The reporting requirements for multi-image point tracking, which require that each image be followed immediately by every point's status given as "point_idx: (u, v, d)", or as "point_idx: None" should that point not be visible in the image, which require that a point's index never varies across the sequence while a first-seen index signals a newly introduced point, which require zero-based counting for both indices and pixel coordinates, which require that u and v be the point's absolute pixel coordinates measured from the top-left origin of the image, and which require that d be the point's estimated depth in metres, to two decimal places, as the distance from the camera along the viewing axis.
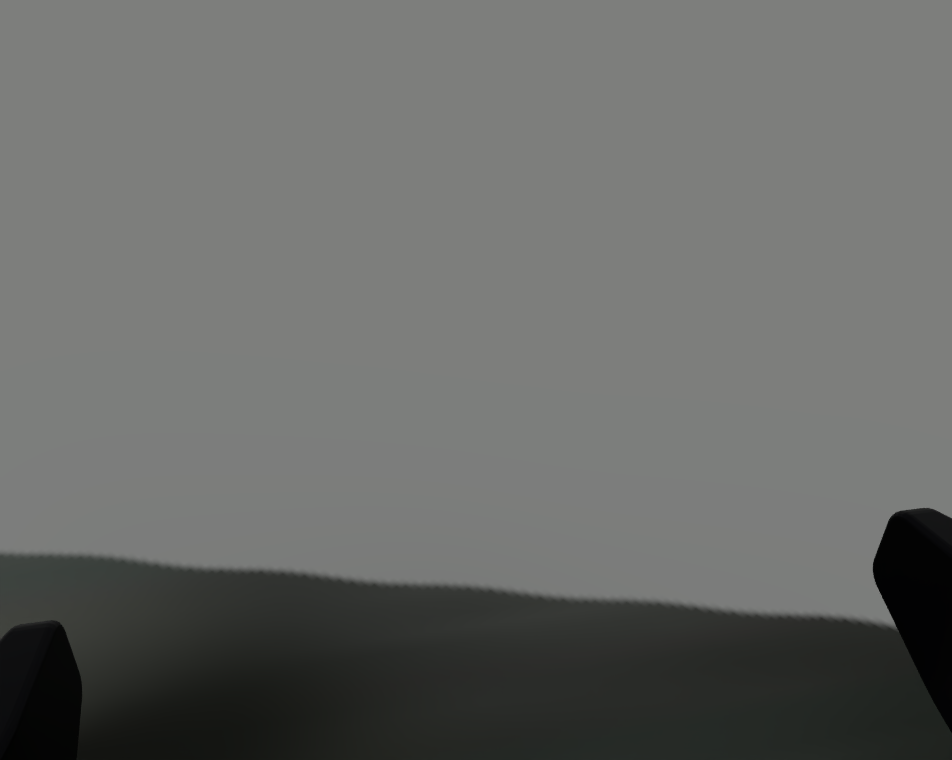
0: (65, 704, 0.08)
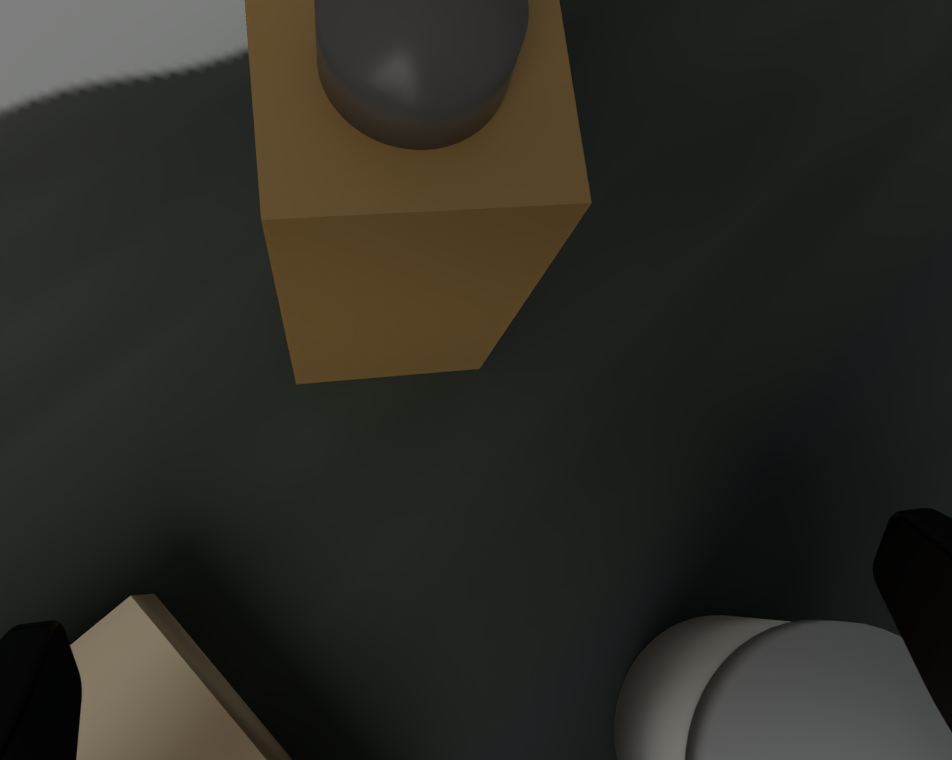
0: (65, 704, 0.08)
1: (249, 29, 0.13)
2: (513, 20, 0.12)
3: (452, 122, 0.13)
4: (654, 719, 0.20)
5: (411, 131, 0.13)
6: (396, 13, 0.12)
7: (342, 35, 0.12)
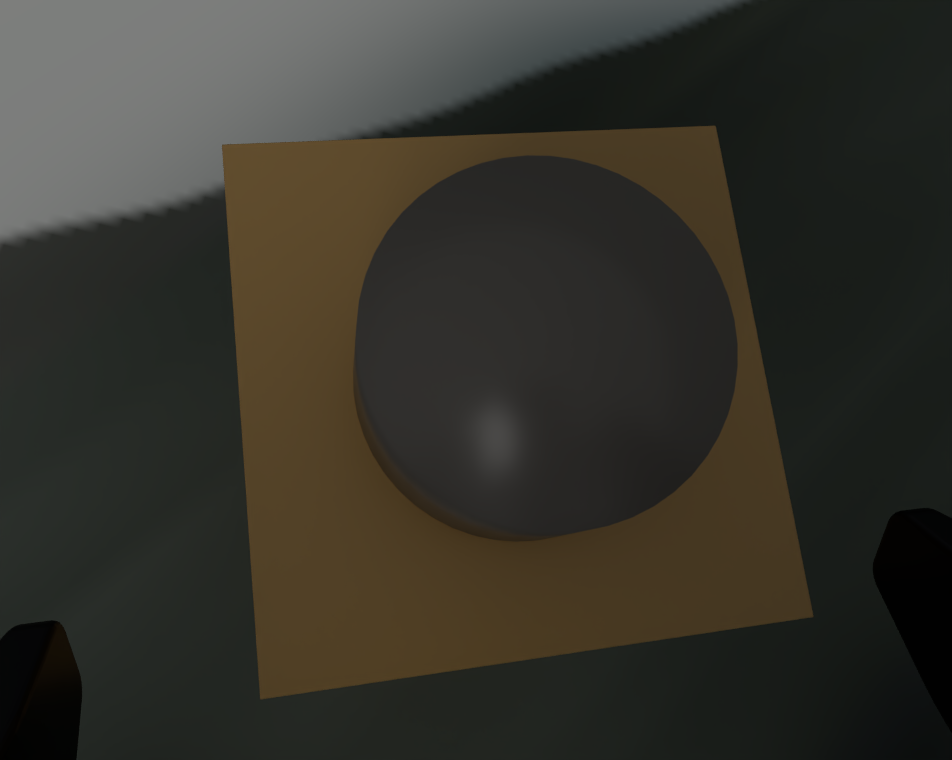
0: (65, 704, 0.08)
1: (239, 336, 0.08)
2: (711, 363, 0.07)
3: None
4: None
5: (522, 537, 0.07)
6: (506, 365, 0.07)
7: (410, 417, 0.06)
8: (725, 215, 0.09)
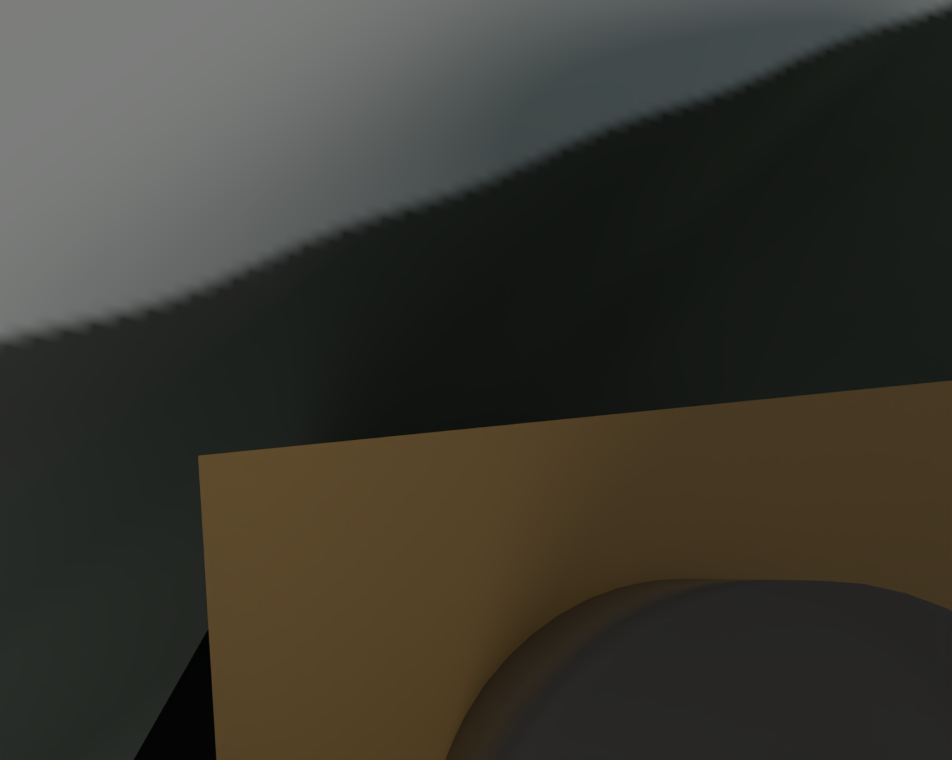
0: None
1: None
2: None
3: None
4: None
5: None
6: None
7: None
8: None
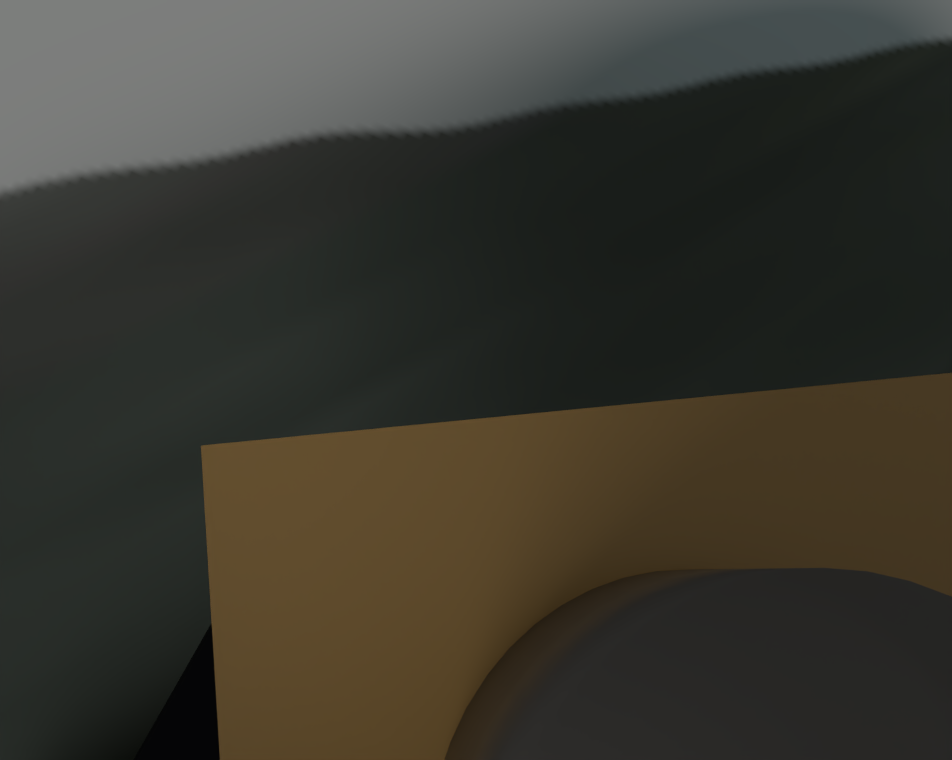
0: None
1: None
2: None
3: None
4: None
5: None
6: None
7: None
8: None
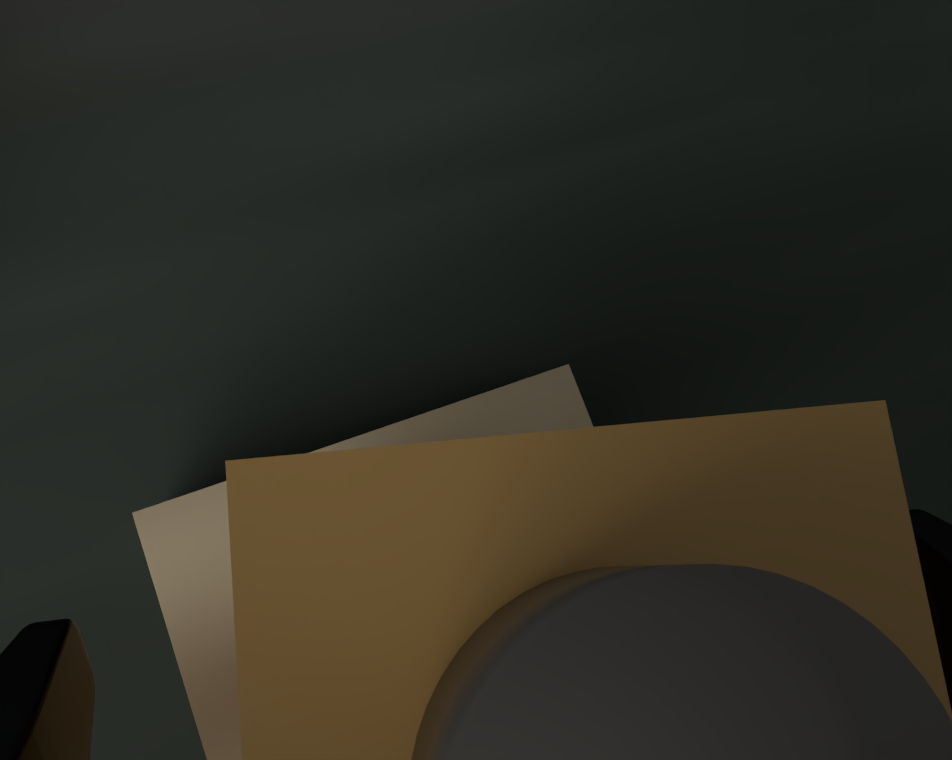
0: (79, 702, 0.08)
1: (248, 753, 0.06)
2: None
3: None
4: None
5: None
6: None
7: None
8: (903, 531, 0.07)
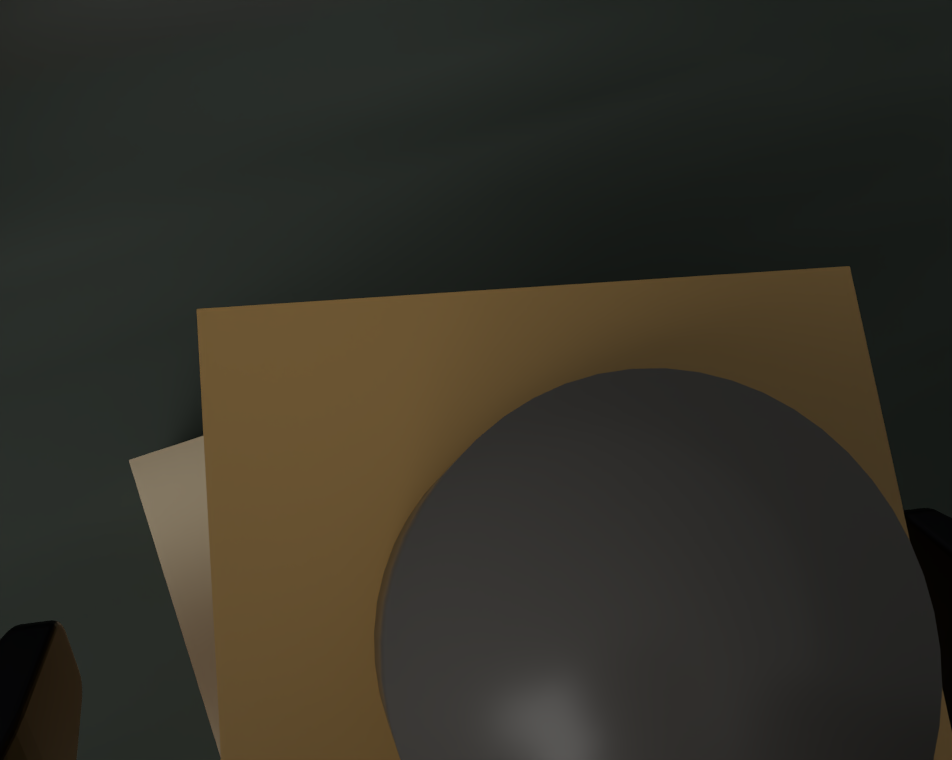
0: (65, 704, 0.08)
1: (218, 586, 0.06)
2: (904, 682, 0.05)
3: None
4: None
5: None
6: (610, 704, 0.04)
7: None
8: (866, 390, 0.07)
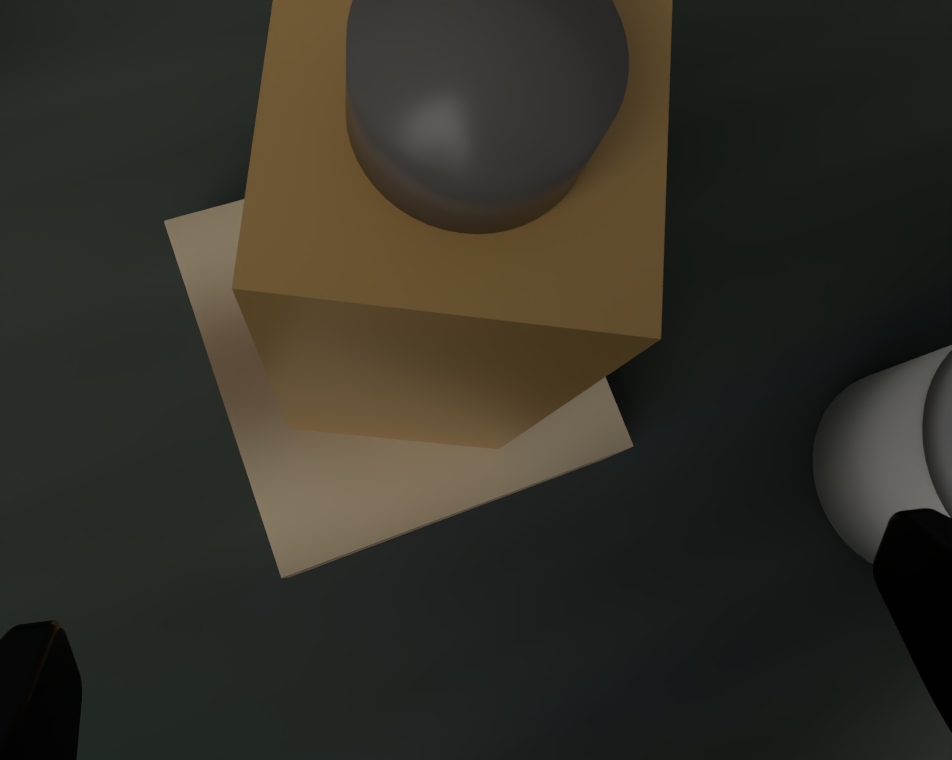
0: (65, 704, 0.08)
1: (270, 40, 0.10)
2: (603, 93, 0.09)
3: (499, 209, 0.10)
4: (884, 390, 0.23)
5: (445, 210, 0.10)
6: (451, 58, 0.09)
7: (374, 75, 0.09)
8: (664, 37, 0.11)
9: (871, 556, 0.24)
